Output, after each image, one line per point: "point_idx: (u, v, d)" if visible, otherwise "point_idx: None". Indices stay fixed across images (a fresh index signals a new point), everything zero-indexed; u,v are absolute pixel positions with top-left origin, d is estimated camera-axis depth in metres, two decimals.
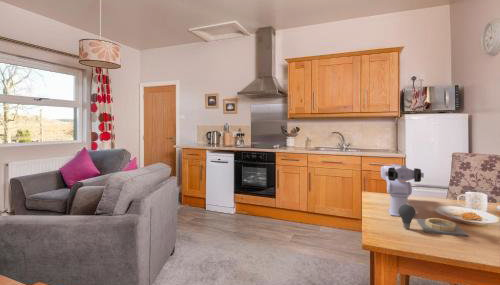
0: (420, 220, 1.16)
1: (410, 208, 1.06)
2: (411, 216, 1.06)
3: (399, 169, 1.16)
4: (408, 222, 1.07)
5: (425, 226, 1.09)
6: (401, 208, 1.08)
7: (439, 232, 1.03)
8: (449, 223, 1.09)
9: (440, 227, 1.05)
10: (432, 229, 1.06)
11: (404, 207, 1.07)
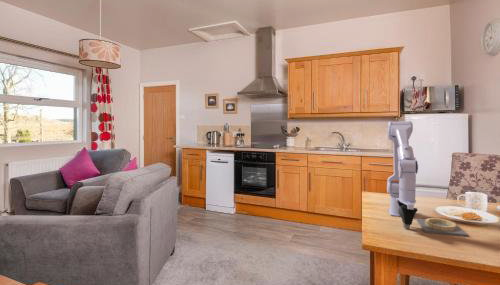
0: (420, 220, 1.16)
1: None
2: None
3: None
4: None
5: (425, 226, 1.09)
6: None
7: (439, 232, 1.03)
8: (449, 223, 1.09)
9: (440, 227, 1.05)
10: (432, 229, 1.06)
11: None
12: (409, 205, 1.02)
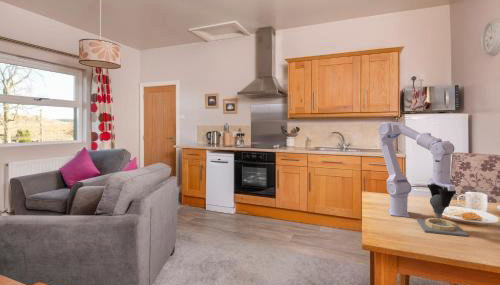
0: (420, 220, 1.16)
1: None
2: None
3: None
4: (442, 212, 1.07)
5: (425, 226, 1.09)
6: (435, 199, 1.07)
7: (439, 232, 1.03)
8: (449, 223, 1.09)
9: (440, 227, 1.05)
10: (432, 229, 1.06)
11: (438, 197, 1.07)
12: (450, 187, 1.01)
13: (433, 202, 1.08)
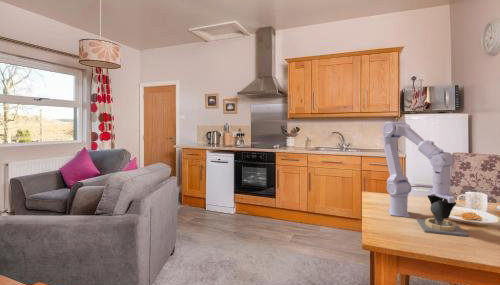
0: (420, 220, 1.16)
1: None
2: None
3: None
4: (442, 219, 1.07)
5: (425, 226, 1.09)
6: (436, 206, 1.07)
7: (439, 232, 1.03)
8: (449, 223, 1.09)
9: (440, 227, 1.05)
10: (432, 229, 1.06)
11: (439, 205, 1.07)
12: (450, 199, 1.01)
13: (434, 209, 1.08)
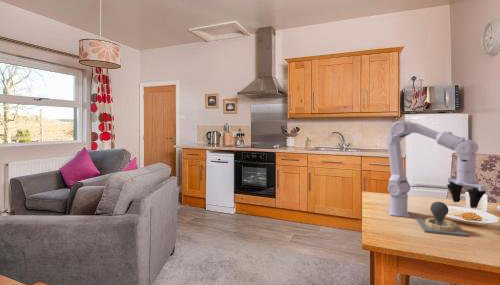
0: (420, 220, 1.16)
1: (445, 205, 1.07)
2: (446, 213, 1.06)
3: None
4: (442, 219, 1.08)
5: (425, 226, 1.09)
6: (436, 206, 1.07)
7: (439, 232, 1.03)
8: (449, 223, 1.09)
9: (440, 227, 1.05)
10: (432, 229, 1.06)
11: (439, 205, 1.07)
12: (482, 187, 0.98)
13: (434, 209, 1.08)
